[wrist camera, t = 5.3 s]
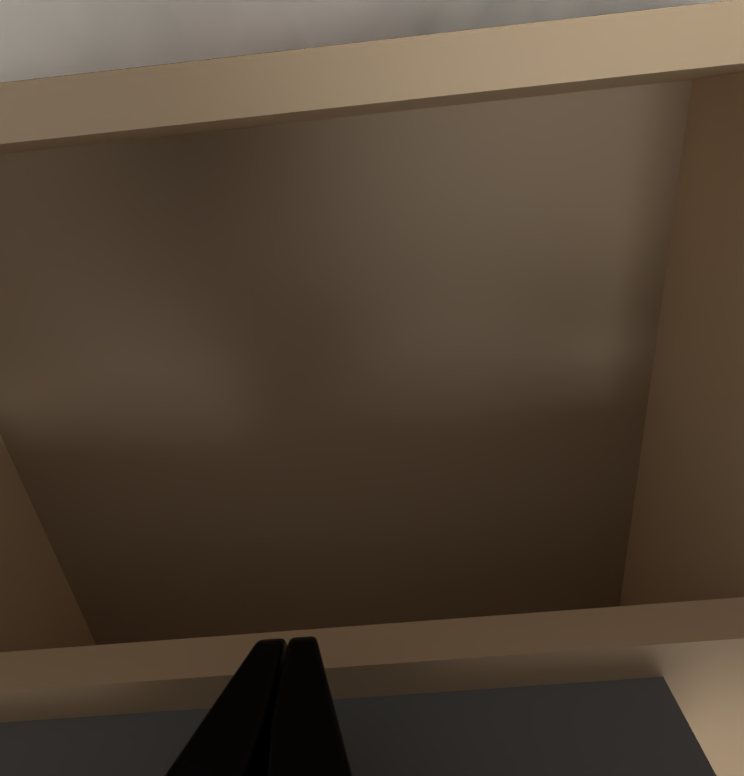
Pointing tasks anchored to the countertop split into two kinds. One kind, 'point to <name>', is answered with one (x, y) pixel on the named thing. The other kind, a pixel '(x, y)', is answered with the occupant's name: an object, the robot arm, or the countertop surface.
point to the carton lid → (416, 696)
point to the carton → (375, 332)
